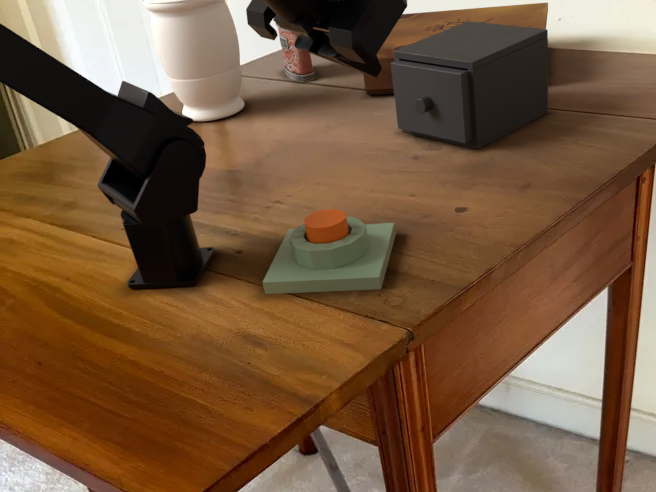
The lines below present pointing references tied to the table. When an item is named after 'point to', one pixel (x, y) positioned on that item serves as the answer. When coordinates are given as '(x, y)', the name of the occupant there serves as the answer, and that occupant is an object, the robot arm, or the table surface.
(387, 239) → the panel
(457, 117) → the dark grey drawer
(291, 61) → the lighter
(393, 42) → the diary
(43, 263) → the table surface
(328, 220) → the button
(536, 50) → the grey drawer box
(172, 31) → the jar
